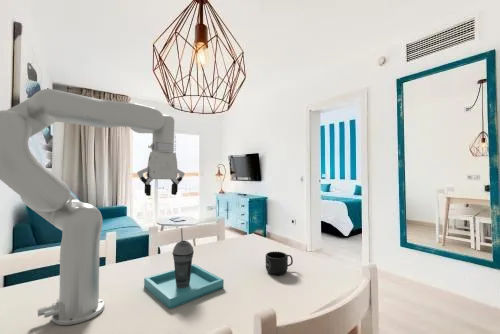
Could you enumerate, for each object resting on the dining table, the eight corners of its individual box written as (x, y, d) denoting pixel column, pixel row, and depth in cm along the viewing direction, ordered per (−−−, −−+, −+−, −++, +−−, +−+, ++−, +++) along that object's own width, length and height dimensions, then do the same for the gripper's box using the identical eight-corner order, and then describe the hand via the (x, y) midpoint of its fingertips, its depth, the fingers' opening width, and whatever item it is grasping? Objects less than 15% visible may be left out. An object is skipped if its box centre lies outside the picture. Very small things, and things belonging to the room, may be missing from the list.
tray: (169, 309, 75) (170, 299, 75) (144, 286, 90) (144, 278, 90) (223, 288, 89) (223, 279, 89) (193, 271, 104) (193, 263, 104)
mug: (271, 278, 98) (271, 259, 98) (262, 269, 106) (262, 252, 106) (298, 274, 102) (298, 256, 102) (287, 266, 110) (287, 249, 111)
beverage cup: (180, 292, 84) (180, 232, 84) (167, 285, 89) (168, 228, 89) (197, 284, 90) (198, 228, 90) (185, 279, 94) (185, 225, 95)
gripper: (142, 146, 86) (140, 196, 85) (189, 150, 97) (187, 195, 96) (135, 147, 91) (133, 195, 91) (180, 151, 102) (179, 193, 102)
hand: (161, 195), depth 93 cm, fingers open, 9 cm apart
